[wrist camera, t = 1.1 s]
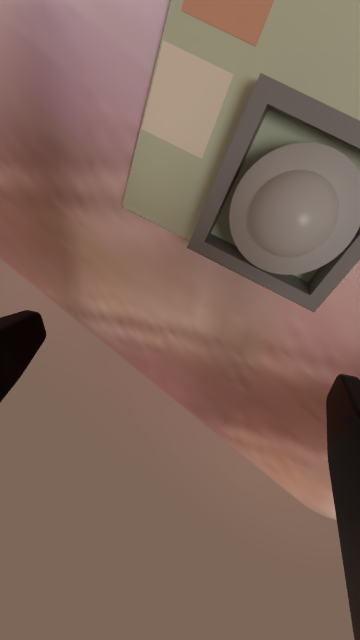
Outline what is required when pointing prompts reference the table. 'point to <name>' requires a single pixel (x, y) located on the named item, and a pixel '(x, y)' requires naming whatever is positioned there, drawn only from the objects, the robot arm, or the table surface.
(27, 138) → the table surface
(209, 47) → the board
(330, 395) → the robot arm
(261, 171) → the dome
